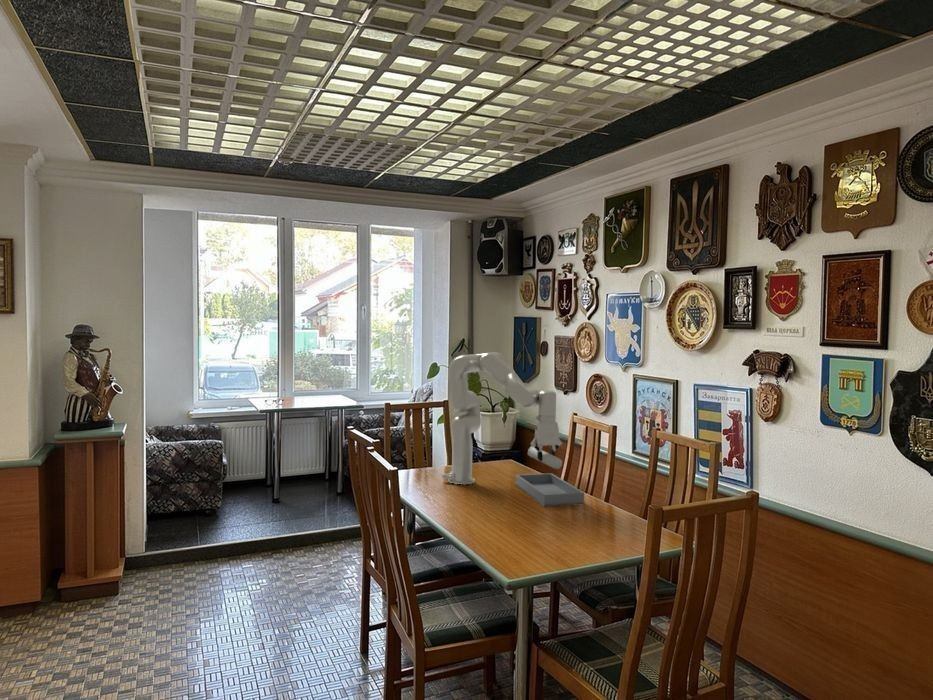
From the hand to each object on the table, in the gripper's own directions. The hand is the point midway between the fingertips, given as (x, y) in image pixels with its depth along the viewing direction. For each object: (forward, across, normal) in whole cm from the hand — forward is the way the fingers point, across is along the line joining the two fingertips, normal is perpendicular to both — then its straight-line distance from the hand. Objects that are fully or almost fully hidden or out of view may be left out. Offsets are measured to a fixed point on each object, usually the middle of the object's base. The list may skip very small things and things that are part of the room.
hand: (545, 459), depth 273 cm
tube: (+2, 0, 0) cm, 2 cm away
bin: (+16, +2, 0) cm, 16 cm away
